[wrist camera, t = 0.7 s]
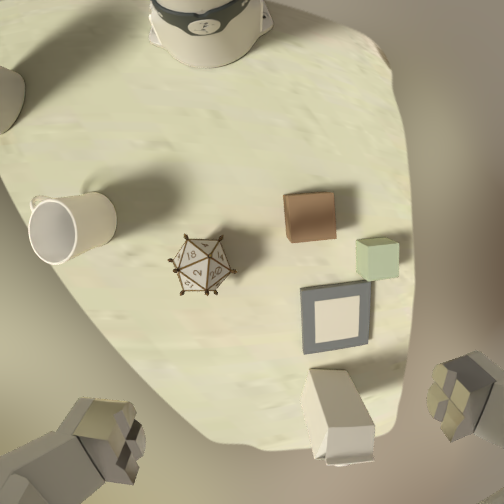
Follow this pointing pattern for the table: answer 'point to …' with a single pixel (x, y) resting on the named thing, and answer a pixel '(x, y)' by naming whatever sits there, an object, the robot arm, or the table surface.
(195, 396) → the table surface
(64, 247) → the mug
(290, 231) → the walnut block
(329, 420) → the milk carton
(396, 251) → the sage cube
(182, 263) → the game die
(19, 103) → the cylinder vase
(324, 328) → the board
